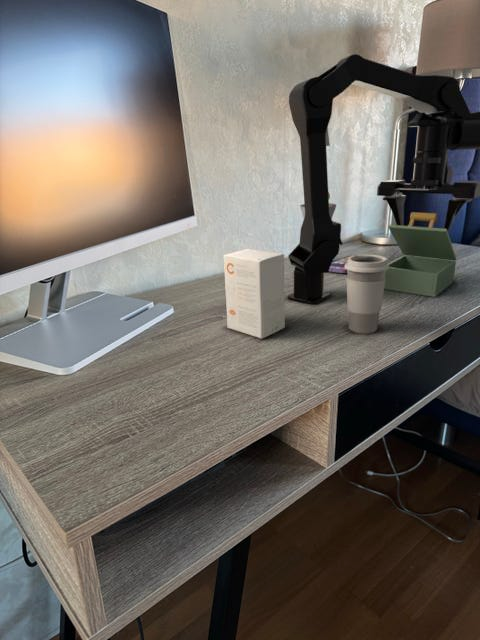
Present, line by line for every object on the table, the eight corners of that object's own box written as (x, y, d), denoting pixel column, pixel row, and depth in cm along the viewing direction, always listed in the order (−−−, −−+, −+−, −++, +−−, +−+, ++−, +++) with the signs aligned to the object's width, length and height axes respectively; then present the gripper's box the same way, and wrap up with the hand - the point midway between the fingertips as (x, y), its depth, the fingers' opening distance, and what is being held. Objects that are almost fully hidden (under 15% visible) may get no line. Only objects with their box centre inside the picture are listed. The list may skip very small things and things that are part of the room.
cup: (364, 318, 79) (369, 251, 75) (393, 330, 74) (399, 259, 69) (333, 326, 76) (335, 257, 72) (360, 339, 71) (364, 266, 66)
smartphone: (318, 270, 110) (348, 258, 121) (345, 274, 106) (374, 261, 116) (318, 266, 110) (348, 255, 120) (345, 270, 105) (374, 258, 115)
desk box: (434, 297, 88) (437, 274, 87) (379, 288, 95) (381, 266, 93) (453, 282, 97) (456, 261, 95) (401, 274, 104) (403, 255, 102)
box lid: (446, 231, 85) (453, 209, 86) (388, 227, 92) (394, 206, 93) (455, 260, 95) (461, 241, 96) (403, 254, 102) (409, 236, 103)
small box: (285, 328, 76) (285, 253, 72) (261, 339, 72) (259, 261, 67) (250, 317, 81) (248, 247, 77) (226, 328, 77) (222, 254, 73)
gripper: (494, 148, 86) (481, 229, 92) (399, 151, 98) (393, 223, 103) (480, 150, 78) (467, 238, 84) (378, 153, 90) (373, 231, 95)
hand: (422, 232), depth 92 cm, fingers open, 9 cm apart
